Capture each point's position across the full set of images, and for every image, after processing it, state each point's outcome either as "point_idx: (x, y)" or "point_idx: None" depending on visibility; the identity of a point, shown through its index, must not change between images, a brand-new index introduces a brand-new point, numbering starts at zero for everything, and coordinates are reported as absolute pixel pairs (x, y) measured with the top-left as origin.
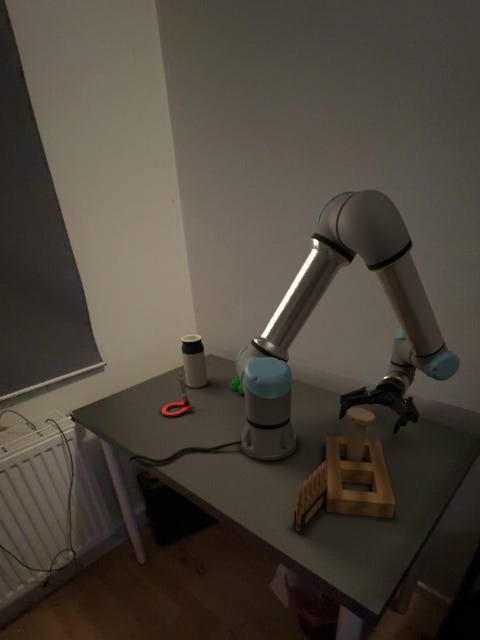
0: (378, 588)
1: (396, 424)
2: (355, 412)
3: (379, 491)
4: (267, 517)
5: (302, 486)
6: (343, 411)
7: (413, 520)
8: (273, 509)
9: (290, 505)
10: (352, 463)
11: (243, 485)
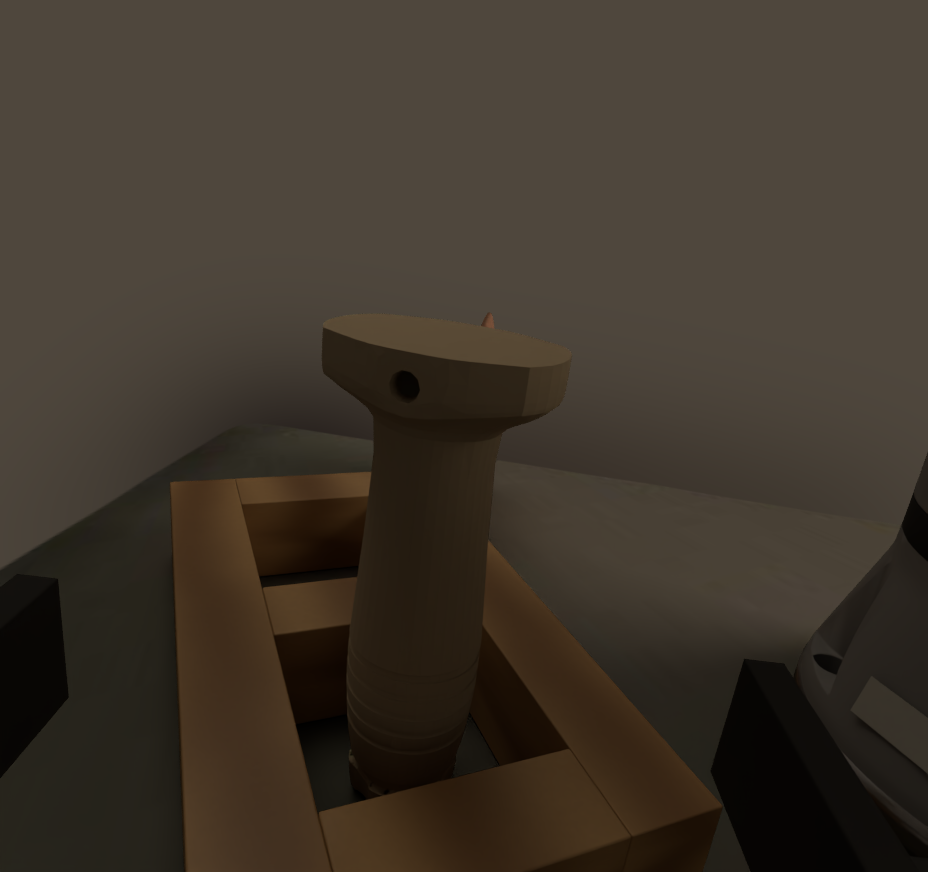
0: (238, 438)
1: (39, 579)
2: (493, 341)
3: (233, 509)
4: (568, 494)
5: (486, 316)
6: (746, 708)
7: (76, 564)
8: (575, 511)
9: (541, 528)
10: None
11: (740, 549)
